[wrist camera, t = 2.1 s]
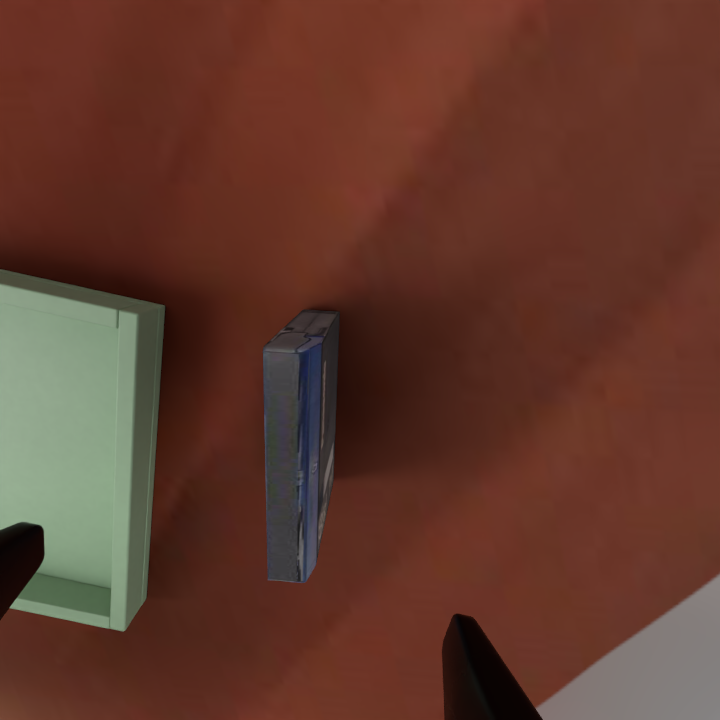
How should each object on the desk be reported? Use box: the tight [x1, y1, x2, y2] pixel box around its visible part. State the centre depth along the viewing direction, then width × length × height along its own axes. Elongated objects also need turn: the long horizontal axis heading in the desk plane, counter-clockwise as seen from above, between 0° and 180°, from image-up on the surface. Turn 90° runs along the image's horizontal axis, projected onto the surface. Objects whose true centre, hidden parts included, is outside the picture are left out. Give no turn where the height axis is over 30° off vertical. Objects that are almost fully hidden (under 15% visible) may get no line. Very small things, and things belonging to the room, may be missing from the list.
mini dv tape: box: [263, 310, 340, 583], centre depth 15 cm, size 8×2×6 cm, turn 177°
